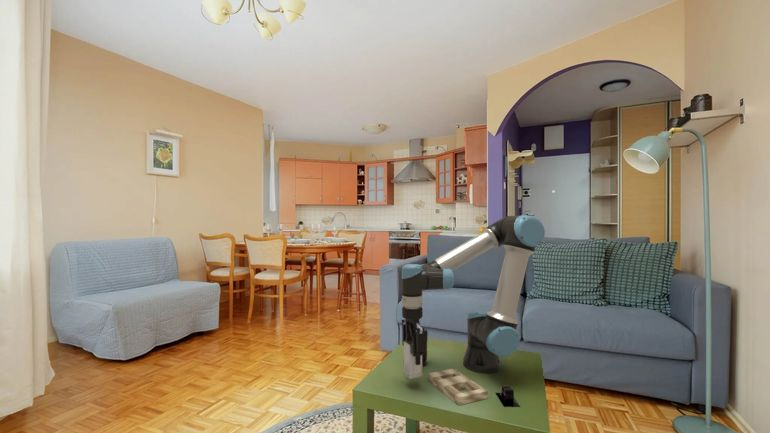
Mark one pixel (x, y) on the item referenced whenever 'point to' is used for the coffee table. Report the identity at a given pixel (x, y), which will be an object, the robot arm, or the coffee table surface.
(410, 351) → the square peg
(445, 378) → the plate
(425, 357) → the camera lens
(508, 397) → the black mounting bracket
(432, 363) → the coffee table surface
